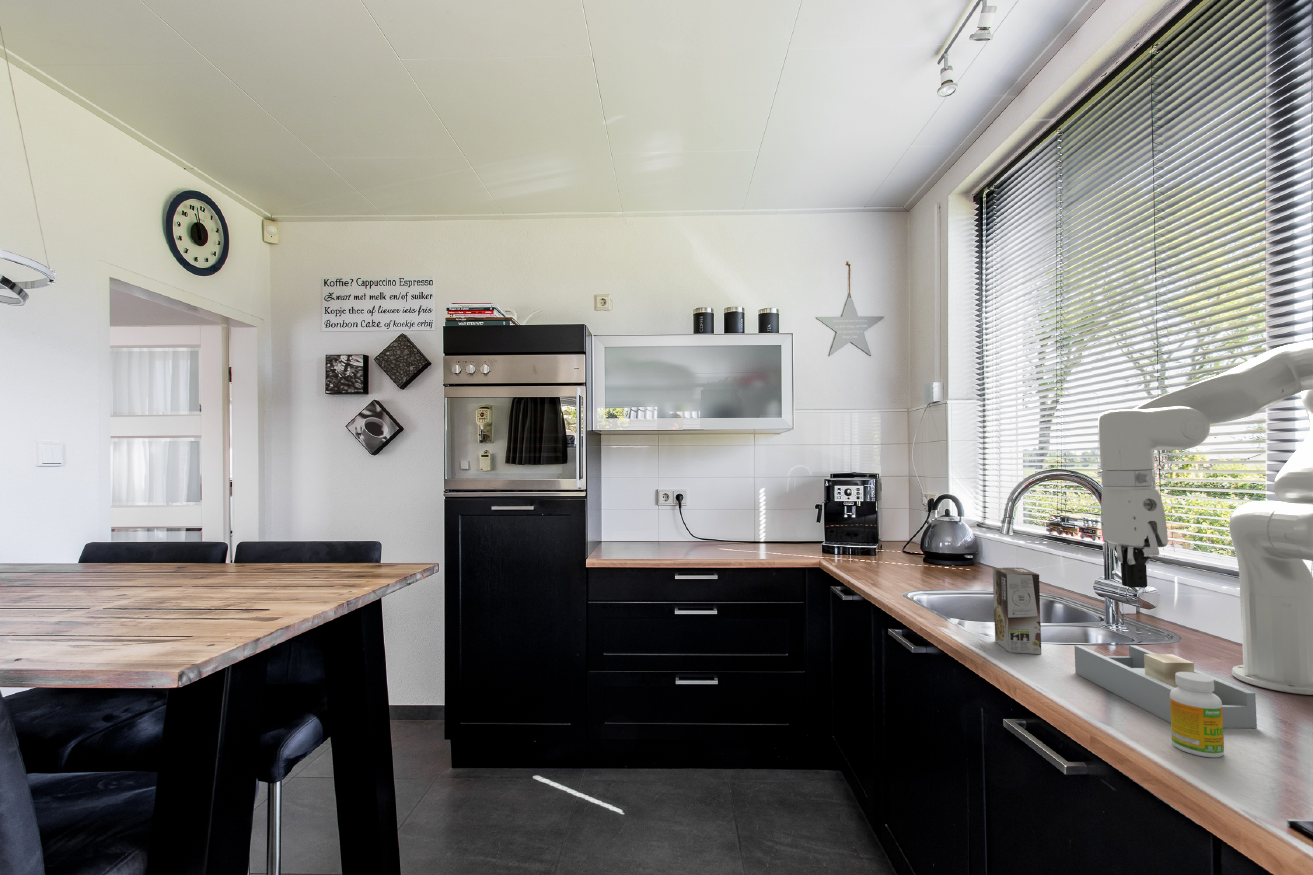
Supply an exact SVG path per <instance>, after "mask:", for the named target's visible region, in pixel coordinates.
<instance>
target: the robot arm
mask: <svg viewBox="0 0 1313 875" xmlns="http://www.w3.org/2000/svg"><path fill="white" fill-rule="evenodd" d="M1297 394H1300V396H1301V400H1302V403H1303V405H1304V410H1305V412H1306V414H1307V416H1308V421H1309V427H1310V428H1309V432H1308V434H1307V436H1306V437H1305V439H1304V440H1303V442H1302V443H1301V444H1300V445H1299V447H1298V448H1297V449H1296V450H1295V452H1294V453H1293V454H1292V455H1291V457H1290V458H1289V459H1288V460H1287V461H1286V463H1285V464H1284V466H1282V468H1281V469H1280V470H1279V471H1278V474H1276V477H1275V479H1274V481H1273V485H1272V487H1273V492H1274V494H1275V496H1276V497H1277V498H1278V499H1279V500H1257V501H1256V500H1255V501H1251V502H1250V501H1249V502H1246V503H1244V504H1241V506H1240V505H1239V507H1238V508H1236V509H1235V510H1234V511H1233V513H1232V514H1231V516H1230V518H1229V524H1228V525H1229V535H1230V538H1231V540H1232V545H1233V547H1234V551H1235V554H1236V560H1237V565H1238V576H1239V600H1240V617H1241V618H1240V619H1241V639H1242V640H1241V642H1242V663H1243V664H1240V665H1234V666H1233V667H1232V668H1231V674H1232V676H1234V677H1235V679H1237V680H1239V681H1241V682H1243V683H1247V684H1248V685H1249V684H1250V685H1253V686H1256V687H1258V688H1263V689H1268V690H1272V691H1278V692H1283V693H1289V694H1297V695H1307V696H1313V574H1312V573H1311V571H1310V570H1309V567H1308V566H1307V564H1306V563H1305V562H1304V560H1305V561H1312V562H1313V340H1309V341H1303V342H1298V343H1291V344H1286V345H1283V346H1279V347H1275V348H1273V349H1271V350H1269V351H1267V352H1265V353H1263V354H1260V355H1258V356H1256V357H1254V358H1252V359H1250V360H1248V361H1246V362H1244V363H1242V364H1239V365H1238V366H1236V367H1233V368H1231V369H1229V370H1227V371H1225V372H1223V373H1221V374H1219V375H1216V376H1214V377H1211V378H1207V379H1204V380H1200V381H1199V382H1195V383H1193V384H1191V385H1189V386H1186V387H1183V388H1179V389H1177V390H1174V391H1171V392H1169V393H1166V394H1162V395H1161V396H1157V397H1156V398H1153V399H1151V400H1149V401H1146V402H1144V403H1143V404H1140V405H1138V406H1136V407H1134V408H1132V409H1131V408H1129V409H1116V410H1115V409H1114V410H1108V411H1104V412H1102V413H1100V414H1099V416H1098V419H1097V426H1098V427H1097V428H1098V441H1099V442H1098V443H1099V444H1098V445H1099V457H1100V458H1099V459H1100V461H1099V462H1100V477H1101V489H1102V490H1101V502H1100V503H1101V504H1100V527H1101V528H1100V529H1101V534H1102V538H1103V539H1104V541H1106V542H1107V546H1108V548H1109V549H1111V550H1112V551H1114V552H1116V554H1117V555H1116V557H1117V561H1118V562H1119V563H1120V573H1121V585H1122V586H1123V587H1126V588H1127V587H1128V588H1131V589H1133V588H1134V589H1135V588H1147V587H1148V575H1147V574H1148V573H1147V565H1148V564H1149V561H1150V558H1152V557H1158V556H1159V555H1160V550H1159V548H1165V547H1167V545H1169V544H1168V542H1169V539H1168V528H1167V520H1166V514H1165V509H1164V503H1163V500H1162V496H1161V494H1160V491H1159V489H1158V488H1157V486H1156V484H1157V483H1156V470H1155V469H1156V468H1155V456H1154V451H1182V450H1188V449H1193V448H1195V447H1197V446H1199V445H1201V444H1203V442H1204V441H1206V440H1207V438H1208V437H1209V435H1210V433H1211V432H1210V431H1211V425H1215V424H1221V423H1222V424H1223V423H1226V422H1227V423H1228V422H1232V421H1236V420H1241V419H1243V418H1245V419H1246V418H1248V417H1251V416H1254V415H1256V414H1259V413H1260V412H1262V411H1264V410H1267V409H1268V408H1269V407H1272V406H1274V405H1276V404H1278V403H1280V402H1283V401H1284V400H1286V399H1288V398H1290V397H1292V396H1295V395H1297Z"/></svg>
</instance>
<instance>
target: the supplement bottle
mask: <svg viewBox="0 0 1313 875" xmlns="http://www.w3.org/2000/svg"><path fill="white" fill-rule="evenodd" d="M1175 682H1176V684H1177V685H1178V687H1177V688H1174V689H1172V690H1171V692H1170V710H1171V723H1170V727H1171V728H1170V729H1171V730H1170V731H1171V733H1170V734H1171V743H1172V745H1173V746H1174V747H1176V748H1177V749H1178V750H1180V751H1183V752H1184V753H1187V754H1191V755H1195V756H1199V757H1205V758H1213V759H1214V758H1220V757H1222V756H1224V754H1225V738H1224V728H1223V713H1222V701H1221V699H1220V698H1219V697H1218V696H1217V695H1215V694H1213V693H1212V691H1214V680H1213V679H1212V678H1211V677H1208V676H1206V675H1202V674H1198V673H1192V672H1177V673H1176V674H1175Z"/></svg>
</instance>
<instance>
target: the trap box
mask: <svg viewBox="0 0 1313 875" xmlns="http://www.w3.org/2000/svg"><path fill="white" fill-rule="evenodd" d="M1128 651H1129V652H1128V653H1129V656H1119V655H1118V656H1117V655H1116V656H1115V655H1114V656H1105V655H1103V654H1101V653H1099V652H1097V651H1095V650H1093V649H1090V648H1087V647H1085V646H1083V645H1081V644H1080V645H1079V644H1075V645H1074V667H1075V670H1074V671H1075V672H1074V673H1075V674H1077V675H1079V676H1080V677H1083V678H1084V679H1086V680H1089V681H1090V682H1092V683H1094V684H1096V685H1097V686H1099V687H1101V688H1104V690H1107V691H1108V692H1111V693H1113V694H1115V695H1117V696H1118V697H1121V698H1122V699H1124V700H1127V702H1130V703H1132V704H1134V705H1136V706H1137V707H1140V709H1141V708H1142V709H1143V710H1145V711H1147V712H1148V713H1151V714H1153V715H1154V716H1157V717H1159V718H1161V719H1162V720H1164V721H1166V722H1168V723H1170V724H1171V710H1170V692H1171V690H1172V689H1174V687H1172V686H1170V685H1168V684H1166V683H1163V682H1161V681H1159V680H1157V679H1154V678H1152V677H1150V676H1148V675H1146V674H1145V665H1144V654H1157V653H1156V652H1152V650H1148V649H1146V648H1143V647H1141V646H1138V645H1128ZM1194 673H1198V674H1202V675H1206V676H1208V677H1211V678H1212V679H1213V680H1214V691H1212V693H1213V694H1215V695H1217V696H1218V697H1219V698H1220V699H1221V701H1222V713H1223V729H1257V728H1258V723H1257V722H1258V721H1257V718H1258V717H1257V702H1256V701H1257V700H1256V699H1257V698H1256V693H1255V692H1253V691H1251V690H1249V689H1246V688H1243V687H1241V686H1238V685H1236V684H1234V683H1231V682H1229V681H1226V680H1223V679H1220V678H1218V677H1215V676H1214V675H1211V674H1209V673H1206V672H1203V671H1201V670H1198V669H1196V668H1194Z"/></svg>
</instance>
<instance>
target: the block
mask: <svg viewBox="0 0 1313 875" xmlns="http://www.w3.org/2000/svg"><path fill="white" fill-rule="evenodd" d="M1144 665H1145V674H1146V675H1148V676H1150V677H1152V678H1154V679H1157V680H1159V681H1161V682H1163V683H1166V684H1168V685H1170V686H1172V687H1174V688H1177V687H1178V685H1177V684H1176V682H1175V674H1176V673H1177V672H1192V673H1194V669H1195V662H1192V661H1191V660H1188V659H1185V658H1182V657H1180V656H1177V655H1175V654H1171V653H1169V654H1168V653H1167V654H1165V653H1161V654H1160V653H1156V654H1144Z"/></svg>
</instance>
